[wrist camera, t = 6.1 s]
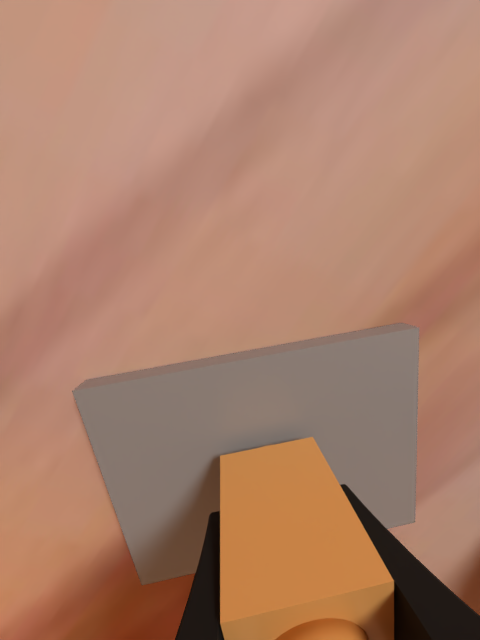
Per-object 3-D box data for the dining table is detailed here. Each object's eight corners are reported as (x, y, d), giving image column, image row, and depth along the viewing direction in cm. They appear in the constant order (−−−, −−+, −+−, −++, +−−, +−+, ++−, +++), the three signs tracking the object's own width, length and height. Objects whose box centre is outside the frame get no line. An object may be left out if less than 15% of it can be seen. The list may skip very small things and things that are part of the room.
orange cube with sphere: (312, 436, 10) (422, 630, 5) (319, 508, 11) (417, 741, 6) (220, 455, 10) (220, 683, 5) (235, 528, 11) (251, 789, 6)
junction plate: (402, 322, 11) (496, 348, 8) (401, 505, 14) (471, 593, 10) (85, 380, 11) (7, 442, 7) (147, 562, 13) (117, 683, 9)
